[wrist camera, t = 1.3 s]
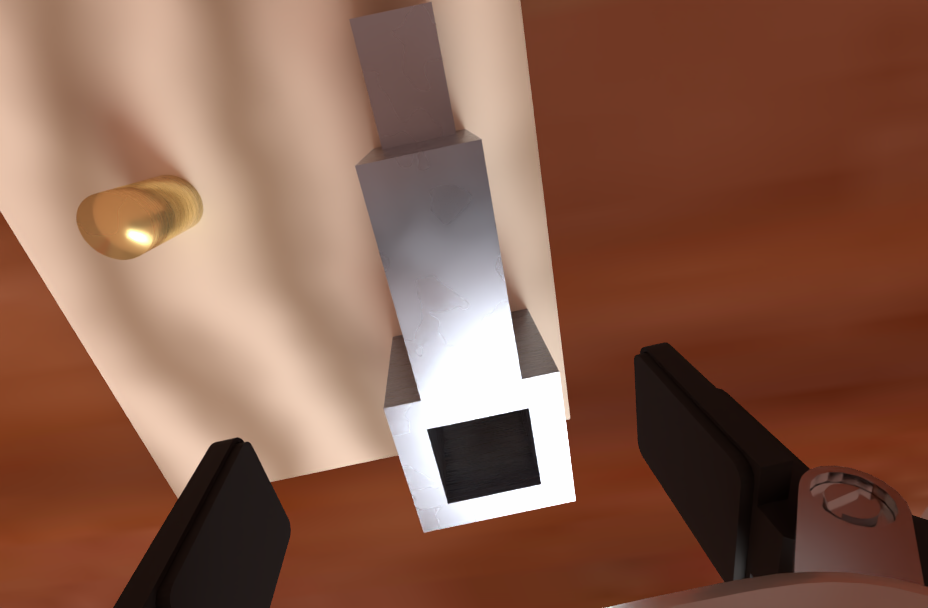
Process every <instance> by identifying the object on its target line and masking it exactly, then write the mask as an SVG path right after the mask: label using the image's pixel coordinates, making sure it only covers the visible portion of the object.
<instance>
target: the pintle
mask: <svg viewBox="0 0 928 608" xmlns="http://www.w3.org/2000/svg"><path fill="white" fill-rule="evenodd" d="M202 215H203V202H202V199H201V197H200V195H199V193H198V191H197V190H196V189H195V188H194V187H193V186H192V185H191V184H190V183H189V182H188V181H186V180H184V179H182V178H180V177H178V176H174V175H160V176H157V177H153V178H149V179H146V180H142V181H139V182H135V183H132V184H128V185H124V186H121V187H117V188H114V189H110V190H106V191H103V192H99V193H96V194H92V195H90V196H88V197H87V198H85V199H84V200H83V201H82V202H81V204H80V205H79V207H78V210H77V214H76V221H77V226H78V229H79V231H80V233H81V235H82V237H83V238H84V240H85V241H86V242H87V243H88V244H89V245H90V246H91V247H92V248H93V249H94V250H96V251H97V252H99V253H101V254H102V255H104V256H107V257H110V258H113V259H118V260H129V259H134V258H136V257H139V256H141V255H142V254H144V253H146V252H148V251H150V250H152V249H153V248H155V247H157V246H159V245H161V244H163V243H164V242H166V241H168V240H170V239H172V238H174V237H176V236H177V235H179V234H181V233H183V232H185V231H187V230H188V229H190V228H192V227H194V226H195V225H196V224H197V223H198V222H199V221H200V219H201V217H202Z"/></svg>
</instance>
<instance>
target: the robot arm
mask: <svg viewBox="0 0 928 608" xmlns="http://www.w3.org/2000/svg"><path fill="white" fill-rule="evenodd" d="M634 367H635V389H636V412H637V434H638V445H639V449H640V452H641V454H642V456H643V458H644V459H645V461H646V462H647V464H648V465H649V467H650V469H651V470H652V472H653V473H654V475H655V476H656V478H657V479H658V481H659V482H660V484H661V485H662V487H663V488H664V490H665V492H666V493H667V495H668V496H669V498H670V499H671V501H672V502H673V504H674V505H675V507H676V508H677V510H678V511H679V513H680V514H681V516H682V518H683V519H684V521H685V522H686V524H687V525H688V527H689V528H690V530H691V531H692V533H693V534H694V536H695V537H696V539H697V541H698V542H699V544H700V545H701V547H702V548H703V550H704V551H705V553H706V554H707V556H708V557H709V559H710V560H711V562H712V564H713V565H714V567H715V568H716V570H717V571H718V573H719V574H720V576H721V577H722V579H723V580H724V582H725V583H720V584H715V585H710V586H705V587H700V588H695V589H690V590H685V591H681V592H676V593H671V594H666V595H661V596H656V597H652V598H647V599H643V600H638V601H634V602H629V603H625V604H620V605H616V606H611V607H607V608H928V520H926V519H923V518H920V517H916V516H913V515H912V514H911V511H910V509H909V506H908V504H907V502H906V501H905V500H904V499H903V497H902V496H901V495H900V494H899V493H898V492H897V491H896V490H895V489H893V488H892V487H891V486H889V485H888V484H886V483H885V482H884V481H882V480H880V479H878V478H876V477H874V476H872V475H870V474H868V473H865V472H862V471H858V470H855V469H852V468H847V467H840V466H819V467H816V468H813V469H809V468H808V467H807V466H806V465H805V464H804V463H803V462H802V461H801V460H799V459H798V458H797V457H796V456H795V455H794V454H793V453H792V452H791V451H790V450H789V449H787V448H786V447H785V446H784V445H783V444H782V443H781V442H780V441H779V440H778V439H777V438H775V437H774V436H773V435H772V434H771V433H770V432H769V431H768V430H767V429H766V428H765V427H763V426H762V425H761V424H760V423H759V422H758V421H757V420H756V419H755V418H754V417H753V416H752V415H750V414H749V413H748V412H747V411H746V410H745V409H744V408H743V407H742V406H741V405H740V404H738V403H737V402H736V401H735V400H734V399H733V398H732V397H731V396H730V395H729V394H728V393H726V392H725V391H723V390H722V389H718V388H716V387H715V386H714V385H713V384H711V383H710V382H709V381H708V380H707V379H706V378H705V377H704V376H703V375H702V374H701V373H700V372H699V371H698V370H696V369H695V368H694V367H693V366H692V365H691V364H690V363H689V362H688V361H687V360H686V359H685V358H684V357H683V356H682V355H680V354H679V353H678V352H677V351H676V350H675V349H674V348H673V347H672V346H671V345H670V344H668V343H660V344H656V345H651V346H647V347H643V348H642V349H641V351H640V354H639V355H636V356H635V358H634ZM290 531H291V529H290V522H289V519H288V517H287V515H286V513H285V511H284V509H283V507H282V505H281V503H280V501H279V499H278V497H277V495H276V493H275V491H274V489H273V487H272V485H271V483H270V481H269V479H268V477H267V475H266V472H265V470H264V468H263V466H262V464H261V462H260V460H259V458H258V456H257V454H256V452H255V450H254V448H253V446H252V445H251V443H250V442H244V441H243V440H242V439H241V438H238V437H236V438H232V439H227V440H223V441H218V442H215V443H212V444H211V445H210V447H209V448H208V450H207V452H206V453H205V455H204V457H203V458H202V460H201V462H200V463H199V465H198V467H197V468H196V470H195V472H194V473H193V475H192V477H191V478H190V480H189V482H188V483H187V485H186V487H185V488H184V490H183V492H182V493H181V495H180V497H179V498H178V500H177V502H176V503H175V505H174V507H173V508H172V510H171V512H170V514H169V515H168V517H167V519H166V520H165V522H164V524H163V525H162V527H161V529H160V530H159V532H158V534H157V535H156V537H155V539H154V540H153V542H152V544H151V545H150V547H149V549H148V550H147V552H146V554H145V555H144V557H143V559H142V560H141V562H140V564H139V565H138V567H137V569H136V570H135V572H134V574H133V575H132V577H131V579H130V581H129V582H128V584H127V586H126V587H125V589H124V591H123V592H122V594H121V596H120V597H119V599H118V601H117V602H116V604H115V606H114V607H113V608H270V605H271V601H272V598H273V594H274V591H275V587H276V584H277V580H278V577H279V573H280V570H281V566H282V563H283V559H284V556H285V552H286V549H287V545H288V542H289V538H290Z"/></svg>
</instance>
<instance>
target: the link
mask: <svg viewBox="0 0 928 608" xmlns="http://www.w3.org/2000/svg"><path fill="white" fill-rule="evenodd" d="M349 21H350V25H351V29H352V32H353V36H354V40H355V44H356V48H357V52H358V56H359V60H360V64H361V68H362V72H363V76H364V80H365V84H366V87H367V91H368V95H369V99H370V103H371V107H372V111H373V115H374V119H375V123H376V127H377V131H378V135H379V139H380V143H381V146H382V147H377V148H374V149H372V150H371V151H370V152H369V153H368V154H367V155H366V156H365V157H364V158H363V159H362V160H361V161H360V162H359V163H358V164H356V165H355V168H356V172H357V175H358V179H359V182H360V186H361V189H362V193H363V196H364V200H365V204H366V207H367V211H368V214H369V218H370V221H371V225H372V228H373V232H374V235H375V239H376V242H377V246H378V250H379V253H380V257H381V260H382V264H383V267H384V271H385V274H386V278H387V281H388V285H389V289H390V292H391V296H392V299H393V303H394V306H395V310H396V313H397V317H398V320H399V324H400V328H401V331H402V335H399V336H394V337H393V338H392V346H391V354H390V362H389V369H388V377H387V385H386V393H385V401H384V408H383V409H384V412H385V415H386V418H387V421H388V424H389V427H390V430H391V433H392V436H393V439H394V442H395V446H396V449H397V452H398V455H399V458H400V461H401V464H402V467H403V470H404V473H405V476H406V479H407V482H408V485H409V488H410V491H411V495H412V498H413V501H414V504H415V507H416V510H417V513H418V516H419V519H420V522H421V525H422V528H423V531H424V532H429V531H433V530H438V529H443V528H448V527H452V526H457V525H462V524H467V523H472V522H476V521H481V520H486V519H491V518H496V517H500V516H505V515H510V514H515V513H519V512H524V511H529V510H534V509H539V508H543V507H548V506H553V505H558V504H562V503H567V502H572V501H576V500H575V492H574V484H573V476H572V468H571V460H570V452H569V444H568V436H567V428H566V420H565V412H564V404H563V396H562V388H561V380H560V372H559V370H558V368H557V366H556V364H555V362H554V360H553V358H552V356H551V354H550V352H549V350H548V348H547V346H546V344H545V342H544V340H543V338H542V336H541V334H540V332H539V330H538V328H537V326H536V324H535V322H534V320H533V319H532V317H531V315H530V313H529V311H528V309H522V310H518V311H513V312H510V306H509V300H508V294H507V288H506V283H505V277H504V271H503V265H502V259H501V253H500V247H499V241H498V235H497V229H496V223H495V217H494V211H493V205H492V199H491V193H490V187H489V181H488V175H487V169H486V163H485V157H484V151H483V145H482V139H481V138H479V137H477V136H476V135H474V134H473V133H471V132H469V131H468V130H466V129H462V130H457V131H456V130H455V124H454V119H453V114H452V108H451V103H450V98H449V92H448V87H447V82H446V76H445V71H444V66H443V60H442V55H441V50H440V44H439V39H438V34H437V28H436V23H435V18H434V12H433V7H432V2H428V3H423V4H418V5H413V6H409V7H404V8H399V9H395V10H390V11H385V12H381V13H376V14H371V15H366V16H362V17H357V18H352V19H349Z"/></svg>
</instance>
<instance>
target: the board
mask: <svg viewBox="0 0 928 608" xmlns="http://www.w3.org/2000/svg"><path fill="white" fill-rule="evenodd" d="M428 2H432V7H433V12H434V18H435V23H436V28H437V34H438V39H439V44H440V50H441V55H442V60H443V66H444V71H445V76H446V82H447V87H448V92H449V98H450V103H451V108H452V114H453V119H454V124H455V130H456V131H457V130H462V129H466V130H468V131H469V132H471V133H473V134H474V135H476V136H477V137H479V138H481V139H482V145H483V151H484V157H485V163H486V169H487V175H488V181H489V187H490V193H491V199H492V205H493V211H494V217H495V223H496V229H497V235H498V241H499V247H500V253H501V259H502V265H503V271H504V277H505V283H506V288H507V294H508V300H509V306H510V312H513V311H518V310H522V309H528V311H529V313H530V315H531V317H532V319H533V320H534V322H535V324H536V326H537V328H538V330H539V332H540V334H541V336H542V338H543V340H544V342H545V344H546V346H547V348H548V350H549V352H550V354H551V356H552V358H553V360H554V362H555V364H556V366H557V368H558V370H559V372H560V380H561V388H562V396H563V404H564V412H565V420H568V419H570V413H569V404H568V396H567V388H566V379H565V371H564V363H563V354H562V346H561V337H560V329H559V321H558V312H557V304H556V296H555V287H554V279H553V271H552V262H551V254H550V246H549V237H548V229H547V220H546V212H545V204H544V195H543V187H542V179H541V170H540V162H539V154H538V145H537V137H536V128H535V120H534V112H533V103H532V95H531V87H530V78H529V70H528V62H527V53H526V45H525V37H524V28H523V20H522V11H521V3H520V0H0V211H1V213H2V214H3V216H4V217H5V219H6V221H7V222H8V224H9V226H10V227H11V229H12V230H13V232H14V234H15V235H16V237H17V239H18V240H19V242H20V243H21V245H22V247H23V248H24V250H25V251H26V253H27V255H28V256H29V258H30V260H31V261H32V263H33V264H34V266H35V268H36V269H37V271H38V273H39V274H40V276H41V277H42V279H43V281H44V282H45V284H46V285H47V287H48V289H49V290H50V292H51V294H52V295H53V297H54V298H55V300H56V302H57V303H58V305H59V307H60V308H61V310H62V311H63V313H64V315H65V316H66V318H67V319H68V321H69V323H70V324H71V326H72V328H73V329H74V331H75V332H76V334H77V336H78V337H79V339H80V341H81V342H82V344H83V345H84V347H85V349H86V350H87V352H88V353H89V355H90V357H91V358H92V360H93V362H94V363H95V365H96V366H97V368H98V370H99V371H100V373H101V375H102V376H103V378H104V379H105V381H106V383H107V384H108V386H109V387H110V389H111V391H112V392H113V394H114V396H115V397H116V399H117V400H118V402H119V404H120V405H121V407H122V409H123V410H124V412H125V413H126V415H127V417H128V418H129V420H130V421H131V423H132V425H133V426H134V428H135V430H136V431H137V433H138V434H139V436H140V438H141V439H142V441H143V443H144V444H145V446H146V447H147V449H148V451H149V452H150V454H151V455H152V457H153V459H154V460H155V462H156V464H157V465H158V467H159V468H160V470H161V472H162V473H163V475H164V477H165V478H166V480H167V481H168V483H169V485H170V486H171V488H172V489H173V491H174V493H175V494H176V496H177V498H179V497H180V495H181V493H182V492H183V490H184V488H185V487H186V485H187V483H188V482H189V480H190V478H191V477H192V475H193V473H194V472H195V470H196V468H197V467H198V465H199V463H200V462H201V460H202V458H203V457H204V455H205V453H206V452H207V450H208V448H209V447H210V445H211V444H212V443H215V442H218V441H223V440H227V439H232V438H236V437H238V438H241V439H242V440H243V441H244V442H250V443H251V445H252V446H253V448H254V450H255V452H256V454H257V456H258V458H259V460H260V462H261V464H262V466H263V468H264V470H265V472H266V475H267V477H268V479H269V481H270V482H272V481H277V480H282V479H287V478H291V477H296V476H301V475H306V474H310V473H315V472H320V471H325V470H329V469H334V468H339V467H344V466H349V465H353V464H358V463H363V462H368V461H372V460H377V459H382V458H387V457H391V456H396V455H398V452H397V449H396V446H395V442H394V439H393V436H392V433H391V430H390V427H389V424H388V421H387V418H386V415H385V412H384V409H383V408H384V401H385V393H386V385H387V377H388V369H389V362H390V354H391V346H392V338H393V337H394V336H399V335H402V331H401V328H400V324H399V320H398V317H397V313H396V310H395V306H394V303H393V299H392V296H391V292H390V289H389V285H388V281H387V278H386V274H385V271H384V267H383V264H382V260H381V257H380V253H379V250H378V246H377V242H376V239H375V235H374V232H373V228H372V225H371V221H370V218H369V214H368V211H367V207H366V204H365V200H364V196H363V193H362V189H361V186H360V182H359V179H358V175H357V172H356V168H355V165H356V164H358V163H359V162H360V161H361V160H362V159H363V158H364V157H365V156H366V155H367V154H368V153H369V152H370V151H371V150H372V149H374V148H377V147H382V146H381V143H380V139H379V135H378V131H377V127H376V123H375V119H374V115H373V111H372V107H371V103H370V99H369V95H368V91H367V87H366V84H365V80H364V76H363V72H362V68H361V64H360V60H359V56H358V52H357V48H356V44H355V40H354V36H353V32H352V29H351V25H350V21H349V19H352V18H357V17H362V16H366V15H371V14H376V13H381V12H385V11H390V10H395V9H399V8H404V7H409V6H413V5H418V4H423V3H428ZM160 175H174V176H178V177H180V178H182V179H184V180H186V181H188V182H189V183H190V184H191V185H192V186H193V187H194V188H195V189H196V190H197V191H198V193H199V195H200V197H201V199H202V202H203V215H202V217H201V219H200V221H199V222H198V223H197V224H196V225H195V226H194V227H192V228H190V229H188V230H187V231H185V232H183V233H181V234H179V235H177V236H176V237H174V238H172V239H170V240H168V241H166V242H164V243H163V244H161V245H159V246H157V247H155V248H153V249H152V250H150V251H148V252H146V253H144V254H142V255H141V256H139V257H136V258H134V259H129V260H118V259H113V258H110V257H107V256H104V255H102V254H101V253H99V252H97V251H96V250H94V249H93V248H92V247H91V246H90V245H89V244H88V243H87V242H86V241H85V240H84V238H83V237H82V235H81V233H80V231H79V229H78V226H77V221H76V214H77V210H78V207H79V205H80V204H81V202H82V201H83V200H84V199H85V198H87V197H88V196H90V195H92V194H96V193H99V192H103V191H106V190H110V189H114V188H117V187H121V186H124V185H128V184H132V183H135V182H139V181H142V180H146V179H149V178H153V177H157V176H160Z"/></svg>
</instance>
